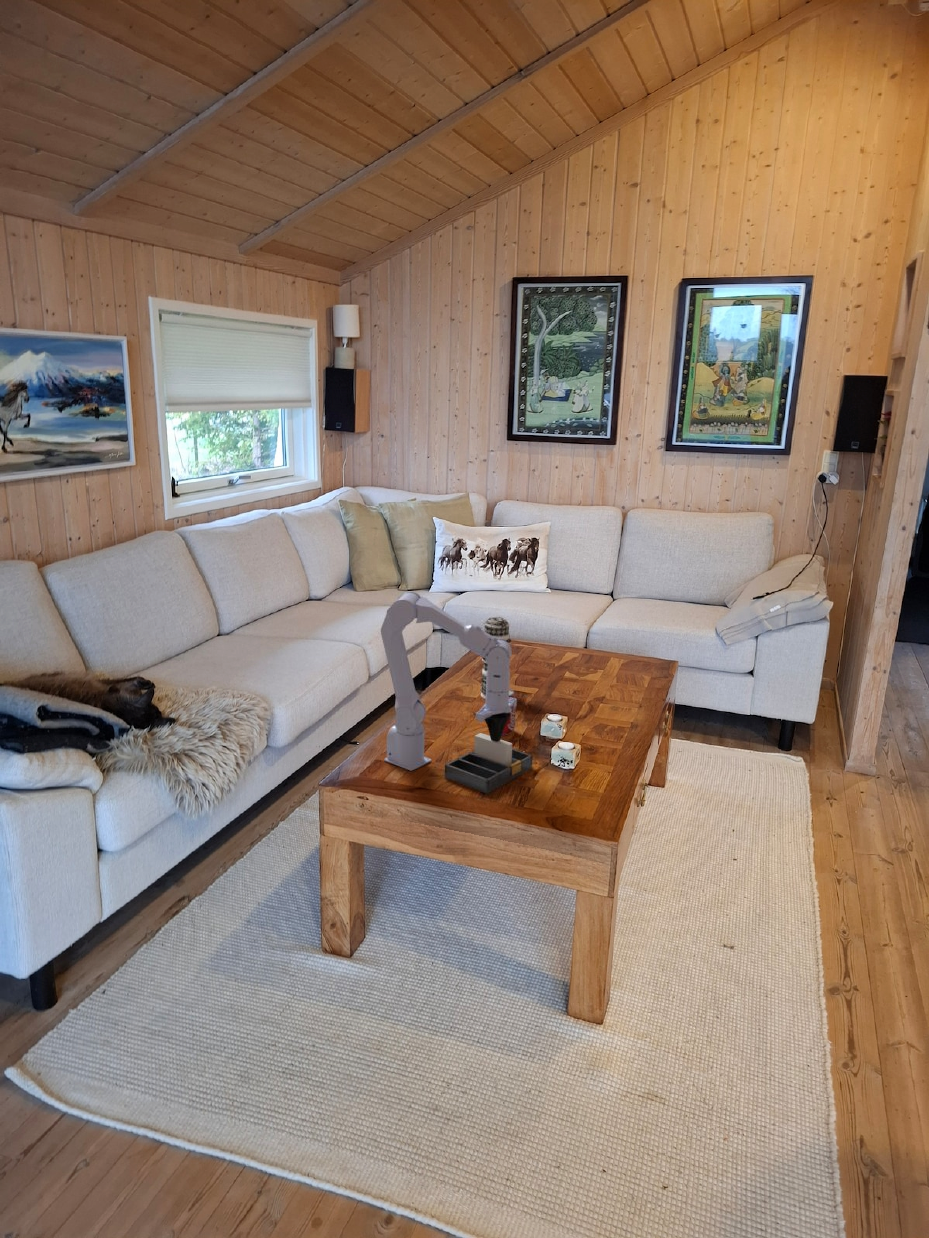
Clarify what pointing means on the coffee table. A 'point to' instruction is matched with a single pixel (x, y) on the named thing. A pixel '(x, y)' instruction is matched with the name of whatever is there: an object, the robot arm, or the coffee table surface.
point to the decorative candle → (500, 630)
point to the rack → (486, 770)
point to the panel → (493, 749)
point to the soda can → (511, 721)
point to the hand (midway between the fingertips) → (495, 739)
